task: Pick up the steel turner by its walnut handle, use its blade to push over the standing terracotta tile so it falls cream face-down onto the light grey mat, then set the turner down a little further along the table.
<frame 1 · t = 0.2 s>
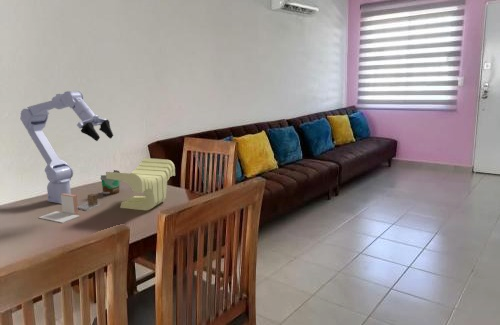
hand: (105, 138, 162), 30 cm above the table, tool tilted 45°, fingers open, 7 cm apart
slatted curved stool: (144, 205, 174), on the table
food container: (114, 193, 192), on the table
tile: (70, 213, 162), on the table
mat: (59, 217, 157), on the table
turner: (90, 206, 172), on the table
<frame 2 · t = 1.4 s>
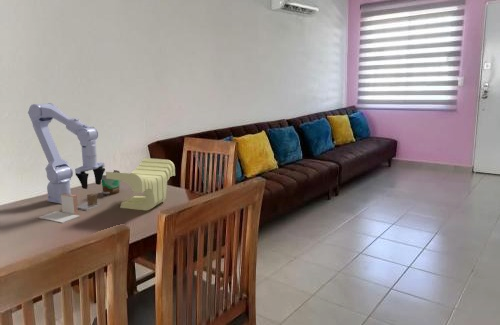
hand: (91, 186, 171), 8 cm above the table, tool pointing down, fingers open, 7 cm apart
nothing on the table moved.
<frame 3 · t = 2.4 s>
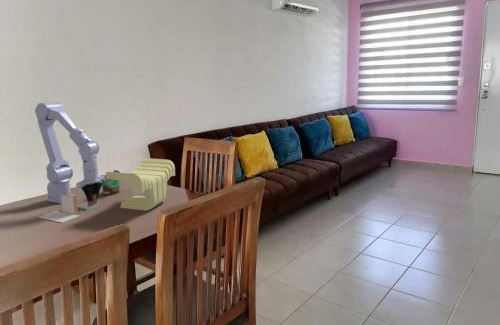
hand: (92, 200, 173), 2 cm above the table, tool pointing down, fingers closed on turner, 3 cm apart
turner: (90, 206, 172), on the table, touching gripper
everything else where it was.
when the fingers open (4 cm above the table, at t = 8.7 s): turner drops 2 cm, on the table.
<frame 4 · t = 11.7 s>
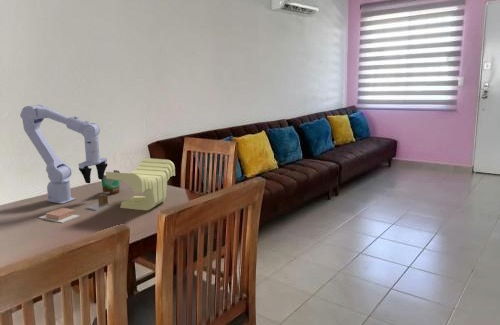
hand: (94, 181, 176), 9 cm above the table, tool pointing down, fingers open, 7 cm apart
tile: (68, 210, 161), point 1 cm above the table, tilted 90°, touching mat
turner: (101, 206, 172), on the table
everything else where it was.
at the end: tile tilted 90°; tile touching mat; the gripper is holding nothing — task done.
